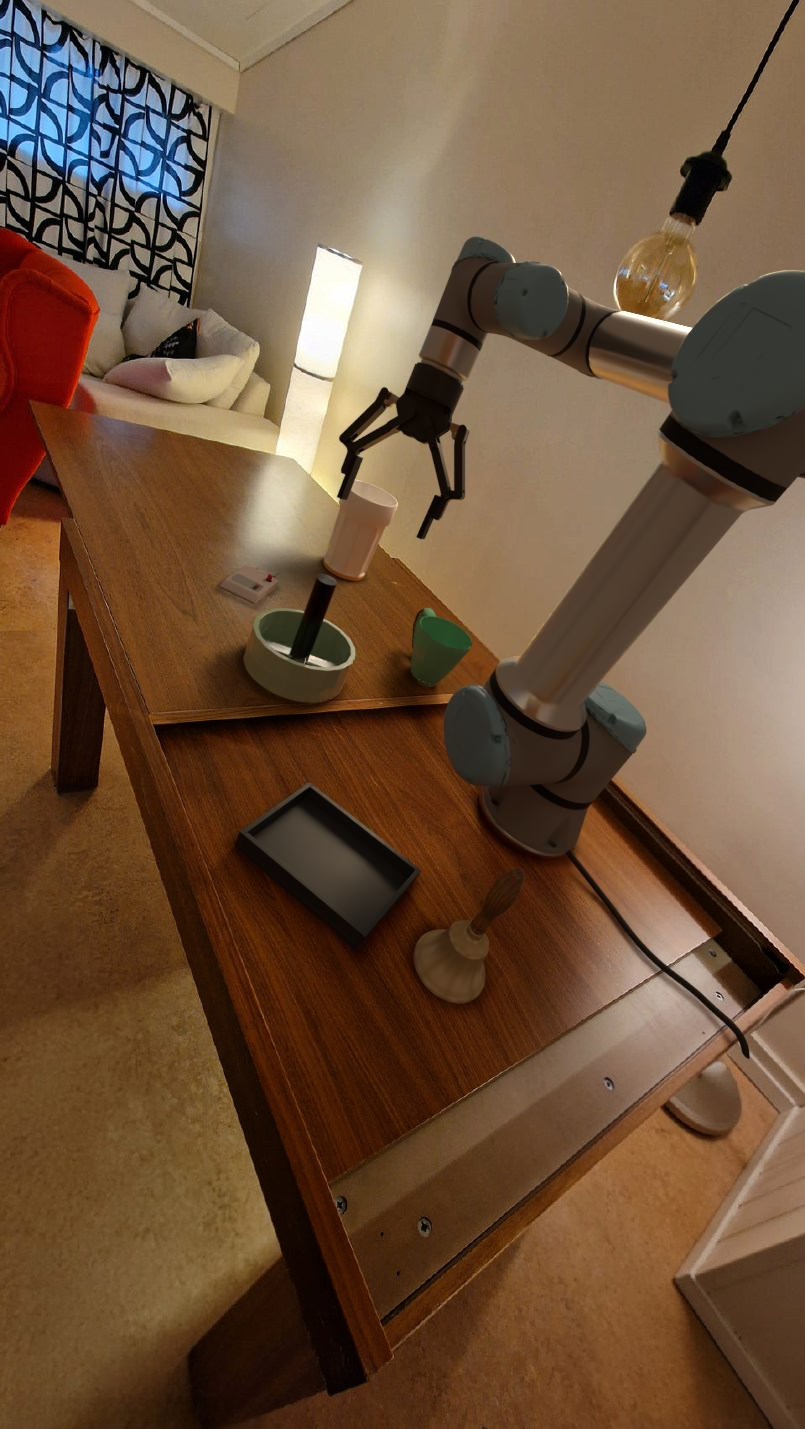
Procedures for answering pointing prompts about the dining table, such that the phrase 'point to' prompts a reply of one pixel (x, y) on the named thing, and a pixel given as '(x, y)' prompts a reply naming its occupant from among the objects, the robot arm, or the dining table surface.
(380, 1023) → the dining table surface
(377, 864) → the tray
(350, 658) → the green bowl
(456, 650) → the mug
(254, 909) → the dining table surface
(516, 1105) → the dining table surface
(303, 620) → the blade
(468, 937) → the hand bell
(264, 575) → the remote control
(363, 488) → the cup
